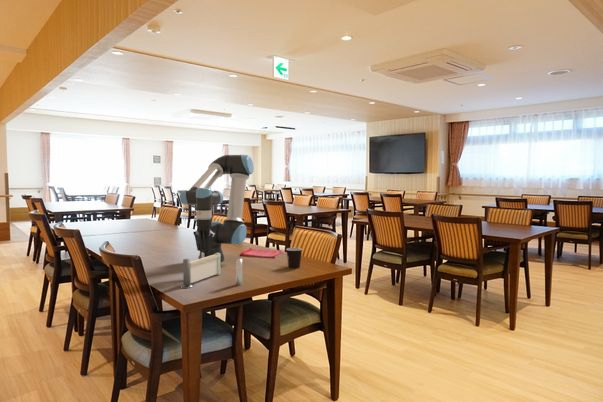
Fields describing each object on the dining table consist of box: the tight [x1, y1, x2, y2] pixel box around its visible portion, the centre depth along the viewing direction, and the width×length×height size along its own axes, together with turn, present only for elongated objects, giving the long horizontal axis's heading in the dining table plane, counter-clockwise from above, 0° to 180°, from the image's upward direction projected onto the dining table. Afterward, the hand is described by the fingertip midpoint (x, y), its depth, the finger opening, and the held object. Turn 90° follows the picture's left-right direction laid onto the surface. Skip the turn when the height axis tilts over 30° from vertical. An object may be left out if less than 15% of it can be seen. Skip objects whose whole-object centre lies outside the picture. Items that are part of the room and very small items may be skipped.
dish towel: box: [239, 248, 283, 259], centre depth 253 cm, size 17×24×3 cm
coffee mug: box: [286, 247, 303, 269], centre depth 221 cm, size 12×9×10 cm
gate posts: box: [179, 258, 243, 289], centre depth 183 cm, size 28×7×12 cm, turn 105°
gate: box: [182, 253, 222, 286], centre depth 191 cm, size 25×3×12 cm, turn 155°
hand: (204, 264), depth 200 cm, fingers closed
